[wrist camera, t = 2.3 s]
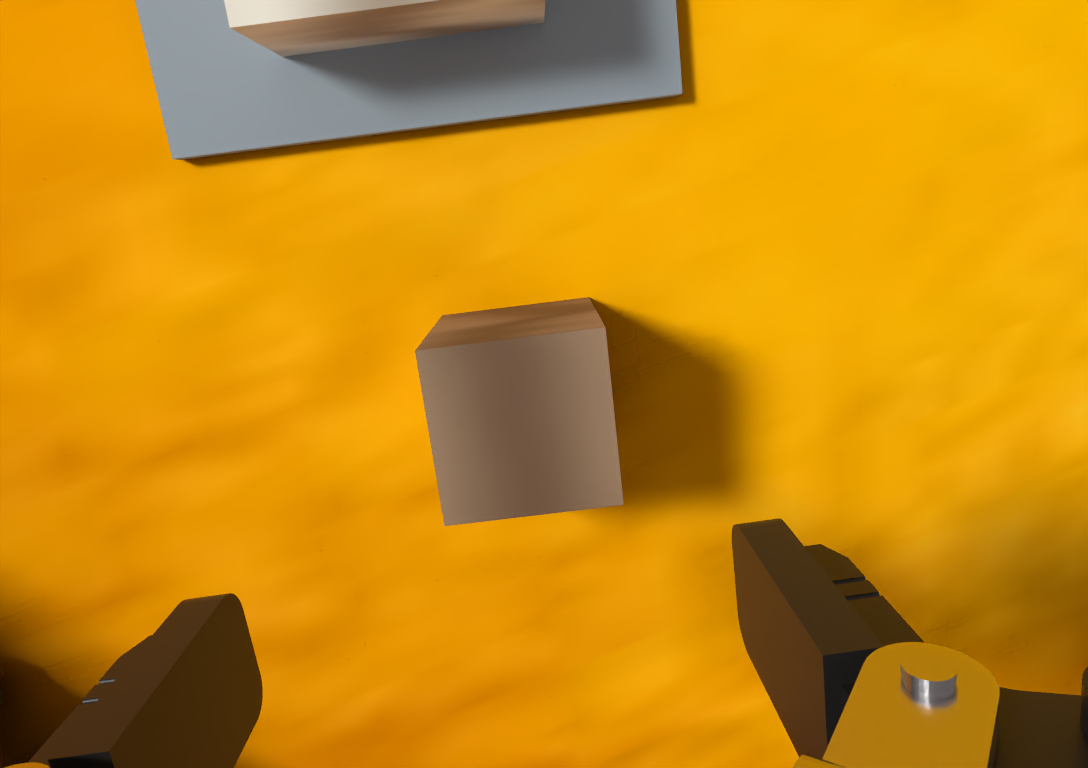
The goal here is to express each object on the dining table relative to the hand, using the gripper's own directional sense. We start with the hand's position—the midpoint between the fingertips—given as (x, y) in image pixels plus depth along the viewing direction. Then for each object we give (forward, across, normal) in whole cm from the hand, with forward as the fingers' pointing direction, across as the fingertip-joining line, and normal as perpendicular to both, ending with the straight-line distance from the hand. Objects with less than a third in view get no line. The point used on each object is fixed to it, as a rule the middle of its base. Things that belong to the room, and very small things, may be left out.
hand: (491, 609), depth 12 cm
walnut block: (+14, -1, 0) cm, 14 cm away
